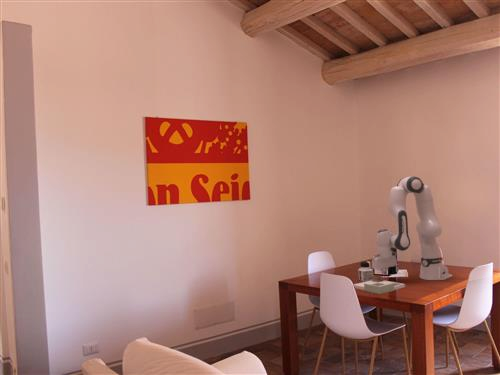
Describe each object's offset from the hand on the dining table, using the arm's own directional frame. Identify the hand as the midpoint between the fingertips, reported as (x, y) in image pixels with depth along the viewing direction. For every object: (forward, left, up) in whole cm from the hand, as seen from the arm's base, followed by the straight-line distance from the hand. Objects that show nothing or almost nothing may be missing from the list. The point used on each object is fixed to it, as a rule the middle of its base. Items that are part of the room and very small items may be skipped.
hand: (384, 274), depth 308 cm
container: (+3, -14, -6) cm, 15 cm away
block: (+7, 0, -3) cm, 8 cm away
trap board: (+14, +7, -5) cm, 17 cm away
